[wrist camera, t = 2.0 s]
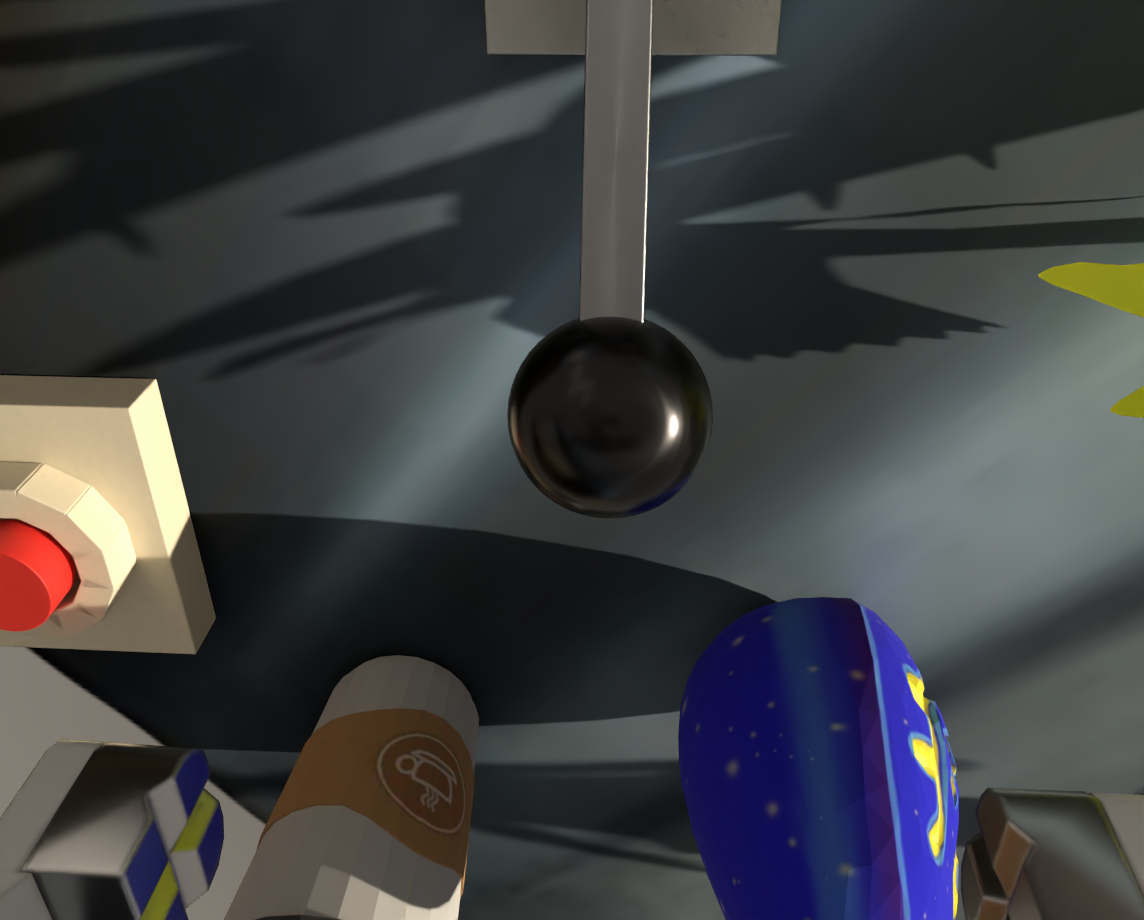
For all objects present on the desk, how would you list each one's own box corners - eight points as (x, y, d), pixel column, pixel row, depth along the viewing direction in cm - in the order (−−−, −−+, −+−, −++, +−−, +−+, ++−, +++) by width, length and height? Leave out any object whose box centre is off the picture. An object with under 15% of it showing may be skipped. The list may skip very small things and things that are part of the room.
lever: (702, 504, 20) (716, 539, 16) (518, 498, 20) (492, 532, 16) (729, -222, 18) (751, -361, 15) (530, -220, 18) (503, -355, 15)
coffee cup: (544, 708, 43) (498, 1076, 30) (424, 799, 46) (337, 1163, 34) (387, 598, 40) (264, 950, 27) (273, 704, 44) (117, 1058, 31)
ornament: (935, 724, 42) (1058, 1115, 29) (719, 765, 44) (745, 1144, 31) (886, 513, 36) (1009, 877, 24) (643, 571, 39) (637, 932, 26)
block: (-87, 372, 36) (-164, 427, 33) (156, 378, 36) (104, 435, 32) (5, 609, 42) (-52, 677, 39) (216, 618, 41) (177, 687, 38)
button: (-40, 516, 35) (-71, 546, 33) (60, 520, 35) (34, 550, 33) (-8, 597, 37) (-36, 629, 35) (87, 601, 37) (63, 634, 35)
